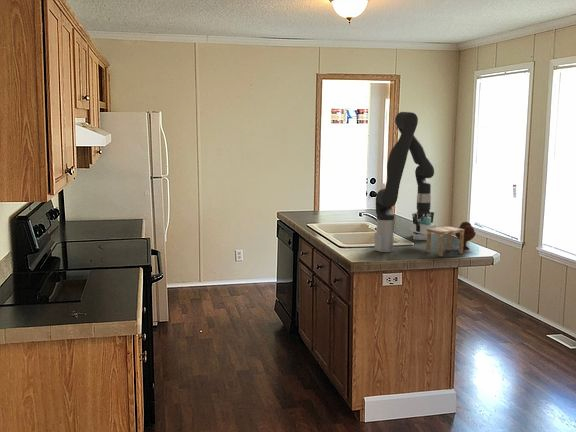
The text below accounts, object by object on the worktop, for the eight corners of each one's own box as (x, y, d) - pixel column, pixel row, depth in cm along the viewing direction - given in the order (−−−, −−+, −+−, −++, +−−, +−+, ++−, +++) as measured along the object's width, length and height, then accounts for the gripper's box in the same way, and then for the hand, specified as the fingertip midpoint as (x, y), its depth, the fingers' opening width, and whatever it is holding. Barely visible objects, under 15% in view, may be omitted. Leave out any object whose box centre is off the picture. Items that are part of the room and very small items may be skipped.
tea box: (430, 240, 360) (431, 215, 358) (413, 239, 362) (414, 215, 360) (429, 236, 375) (430, 212, 372) (413, 235, 377) (414, 211, 374)
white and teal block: (427, 234, 332) (427, 218, 330) (410, 230, 344) (410, 215, 342) (435, 233, 335) (436, 217, 333) (418, 230, 347) (418, 214, 345)
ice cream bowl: (450, 247, 340) (451, 221, 337) (466, 246, 344) (468, 220, 341) (461, 251, 330) (463, 224, 328) (478, 250, 334) (480, 223, 332)
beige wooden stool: (440, 256, 316) (441, 231, 314) (426, 252, 326) (427, 228, 324) (463, 253, 324) (464, 229, 322) (448, 249, 334) (449, 226, 332)
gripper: (418, 202, 330) (417, 233, 332) (438, 201, 337) (437, 231, 339) (409, 201, 336) (408, 231, 339) (428, 199, 343) (427, 229, 346)
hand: (422, 231), depth 339 cm, fingers closed on white and teal block, 6 cm apart
